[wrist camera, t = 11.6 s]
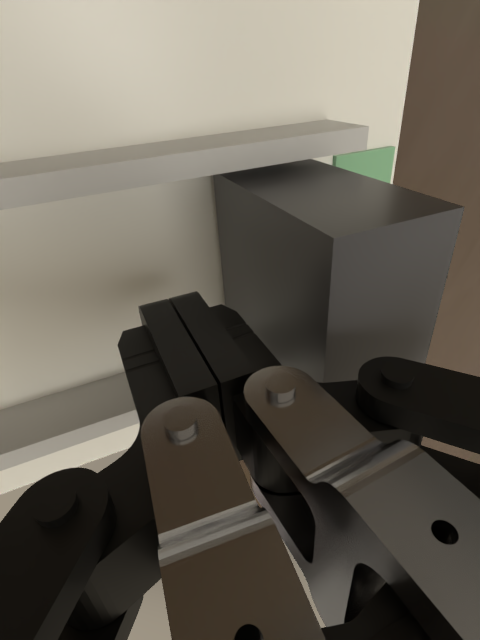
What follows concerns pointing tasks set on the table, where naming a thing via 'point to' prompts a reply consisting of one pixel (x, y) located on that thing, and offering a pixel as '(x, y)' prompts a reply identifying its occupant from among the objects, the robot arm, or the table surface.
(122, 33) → the block
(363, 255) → the block
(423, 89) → the table surface
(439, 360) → the table surface
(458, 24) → the table surface
